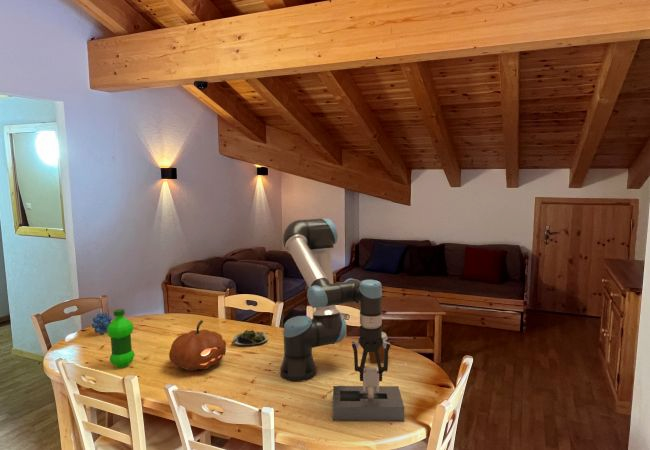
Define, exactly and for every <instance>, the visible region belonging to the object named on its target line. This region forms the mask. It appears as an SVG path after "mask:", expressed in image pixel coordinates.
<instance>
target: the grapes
mask: <svg viewBox="0 0 650 450" xmlns="http://www.w3.org/2000/svg"><path fill="white" fill-rule="evenodd" d="M112 321H113V320H112V316H110V315H108V313H107V312H103V313H101V312H99V313H97V314H96V316H94V317H93V318H92V323H91V328H93V330H94V332H95V333H96V334H100V335H105V333H107V328H108V326H109V324H110V323H111V322H112Z"/></svg>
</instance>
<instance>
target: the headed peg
mask: <svg viewBox="0 0 650 450" xmlns="http://www.w3.org/2000/svg"><path fill="white" fill-rule="evenodd" d="M364 370H365V386H368V399H374V386H377V370H378V368H377V367H376V366H365V367H364Z"/></svg>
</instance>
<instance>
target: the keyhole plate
mask: <svg viewBox="0 0 650 450" xmlns="http://www.w3.org/2000/svg"><path fill="white" fill-rule="evenodd" d="M332 391H333V392H332V421H333V422H334V421H335V422H336V421H342V422H344V421H345V422H346V421H347V422H348V421H349V422H352V421H353V422H360V421H361V422H405V405H404V401H403V398H402V394H401V391H400V388H399V386H398V385H397V386H395V385H394V386H393V385H391V386H390V385H389V386H388V385H379V392H377V389H376V386H374V399H368V386H365V391H363V385H333V388H332Z"/></svg>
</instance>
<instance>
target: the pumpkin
mask: <svg viewBox="0 0 650 450" xmlns="http://www.w3.org/2000/svg"><path fill="white" fill-rule="evenodd" d="M203 322H204V320H202V319H201V320H200V321H199V322H198V323H197V326H196V330H191V331H189V332H187V333H182V334H180V335H179V336H177V337H175V338H174V341H173V342H172V343H171V346H170V349H169V353H168V358H169V361H170V362H171V364H173V365H174V366H176V367H178V368H181V369H185V370H187V371H195V370H206V369H208V368H209V367H211V366H213V365H214V366H215V365H216V364H218V363H219V362H220V361H221V360H222V359H223V357H224V356H226V351H227V348H226V345H227V343H226V341H225V340H224V338H223V335H222V334H221V333H219V332H216V331H212V330H209V329H205V328H204V329H200V327H201V325H202V324H203Z"/></svg>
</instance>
